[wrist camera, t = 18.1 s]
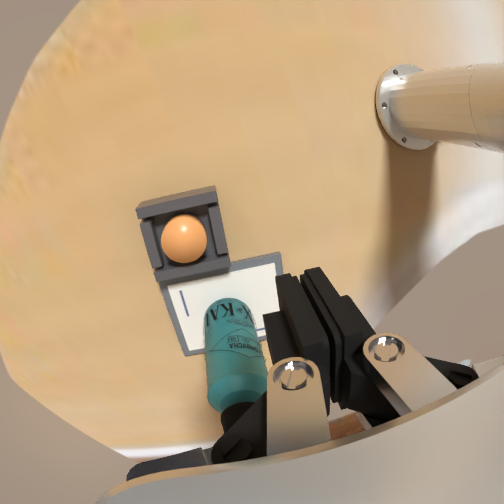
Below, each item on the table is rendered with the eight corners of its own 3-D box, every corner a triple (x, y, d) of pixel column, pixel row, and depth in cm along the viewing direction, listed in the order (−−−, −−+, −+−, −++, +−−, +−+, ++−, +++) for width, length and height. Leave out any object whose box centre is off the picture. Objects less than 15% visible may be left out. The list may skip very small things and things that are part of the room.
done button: (201, 209, 34) (201, 214, 31) (210, 249, 36) (211, 257, 33) (158, 218, 33) (155, 224, 31) (169, 258, 35) (167, 267, 33)
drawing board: (279, 251, 40) (281, 254, 39) (289, 330, 45) (291, 334, 44) (158, 277, 38) (157, 280, 37) (184, 352, 43) (184, 357, 42)
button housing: (214, 185, 35) (216, 190, 32) (228, 255, 39) (231, 266, 35) (141, 202, 34) (135, 208, 31) (160, 269, 38) (156, 281, 35)
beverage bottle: (249, 329, 42) (282, 448, 24) (201, 330, 41) (210, 454, 23) (252, 289, 40) (293, 407, 21) (201, 289, 39) (207, 413, 20)
